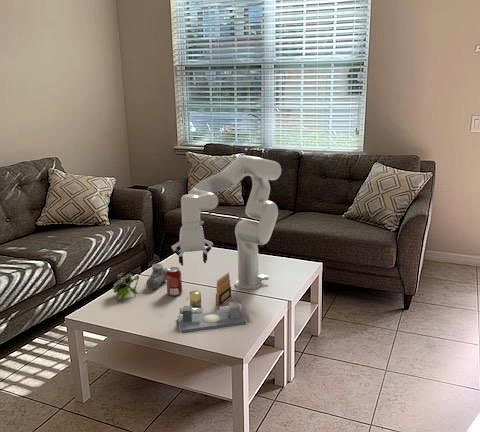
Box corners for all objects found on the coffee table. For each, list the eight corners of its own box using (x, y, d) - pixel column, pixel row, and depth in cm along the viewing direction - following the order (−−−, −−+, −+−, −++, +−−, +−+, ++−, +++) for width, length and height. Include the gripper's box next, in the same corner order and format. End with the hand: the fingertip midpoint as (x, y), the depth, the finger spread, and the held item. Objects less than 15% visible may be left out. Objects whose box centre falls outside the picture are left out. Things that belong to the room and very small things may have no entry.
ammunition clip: (219, 306, 220) (218, 280, 217) (216, 305, 221) (215, 279, 218) (231, 296, 229) (230, 271, 226) (227, 295, 230) (227, 271, 227)
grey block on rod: (203, 316, 208) (202, 305, 207) (202, 321, 204) (201, 310, 202) (181, 316, 208) (180, 305, 207) (179, 321, 204) (179, 310, 202)
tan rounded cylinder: (200, 304, 222) (199, 289, 220) (202, 309, 217) (201, 294, 216) (189, 305, 221) (188, 291, 219) (191, 310, 216) (190, 295, 214)
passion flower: (123, 305, 237) (127, 276, 241) (143, 305, 231) (148, 276, 236) (104, 299, 226) (109, 270, 231) (126, 299, 221) (131, 269, 225)
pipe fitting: (154, 278, 250) (153, 259, 246) (169, 281, 248) (169, 262, 244) (143, 290, 240) (142, 271, 235) (159, 293, 238) (158, 274, 233)
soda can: (179, 297, 230) (178, 272, 226) (165, 296, 231) (163, 271, 228) (184, 291, 236) (182, 266, 233) (170, 290, 237) (168, 266, 234)
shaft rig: (239, 311, 215) (238, 297, 213) (246, 324, 203) (246, 310, 202) (177, 319, 209) (176, 305, 207) (181, 333, 197) (180, 318, 196)
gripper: (210, 220, 214) (211, 258, 219) (169, 223, 211) (171, 262, 215) (213, 225, 207) (215, 264, 212) (171, 228, 204) (173, 268, 208)
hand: (193, 263), depth 214 cm, fingers open, 9 cm apart
